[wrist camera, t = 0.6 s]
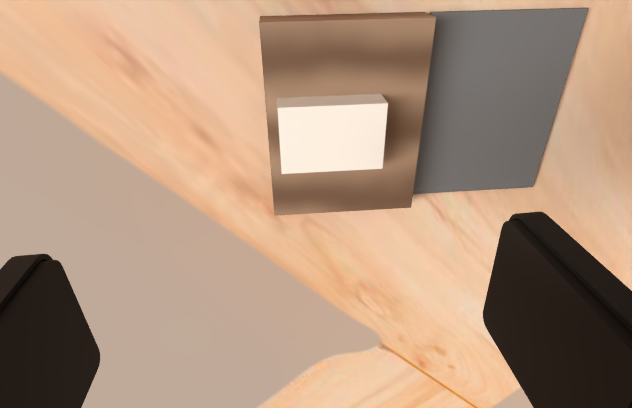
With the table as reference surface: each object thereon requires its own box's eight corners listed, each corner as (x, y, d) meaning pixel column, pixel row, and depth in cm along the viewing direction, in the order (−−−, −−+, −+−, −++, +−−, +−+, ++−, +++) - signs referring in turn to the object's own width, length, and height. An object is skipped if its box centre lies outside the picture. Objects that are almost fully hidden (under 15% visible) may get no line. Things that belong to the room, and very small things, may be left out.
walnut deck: (260, 16, 34) (259, 22, 32) (424, 11, 35) (436, 17, 33) (274, 199, 44) (274, 215, 42) (403, 192, 45) (410, 207, 42)
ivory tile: (277, 98, 35) (277, 107, 33) (381, 93, 36) (388, 103, 34) (281, 161, 38) (281, 174, 36) (376, 156, 39) (382, 168, 37)
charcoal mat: (430, 11, 35) (431, 12, 35) (585, 7, 36) (588, 8, 36) (407, 192, 45) (408, 194, 45) (530, 185, 46) (532, 187, 46)
